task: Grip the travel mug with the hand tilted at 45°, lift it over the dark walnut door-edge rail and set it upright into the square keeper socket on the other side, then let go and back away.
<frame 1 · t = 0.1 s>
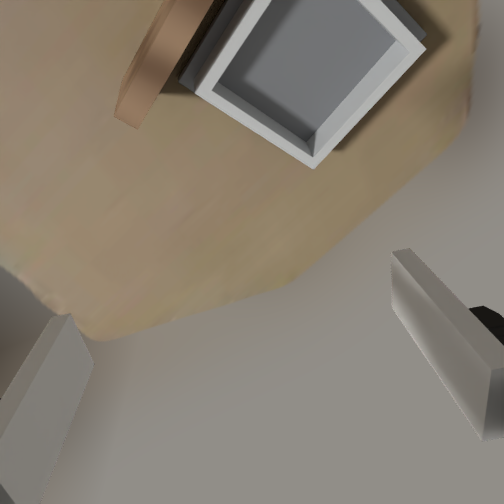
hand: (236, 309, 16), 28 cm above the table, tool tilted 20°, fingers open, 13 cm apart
keeper socket: (300, 54, 37), on the table
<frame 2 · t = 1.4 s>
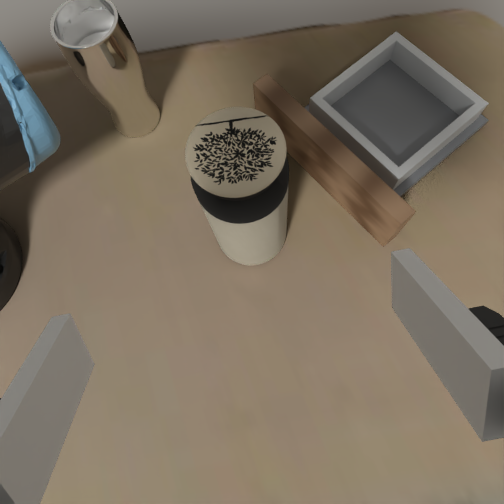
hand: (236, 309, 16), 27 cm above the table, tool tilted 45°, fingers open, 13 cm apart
travel mug: (251, 233, 47), on the table
keeper socket: (388, 121, 50), on the table
door edge rail: (322, 175, 48), on the table
beer glass: (137, 118, 52), on the table
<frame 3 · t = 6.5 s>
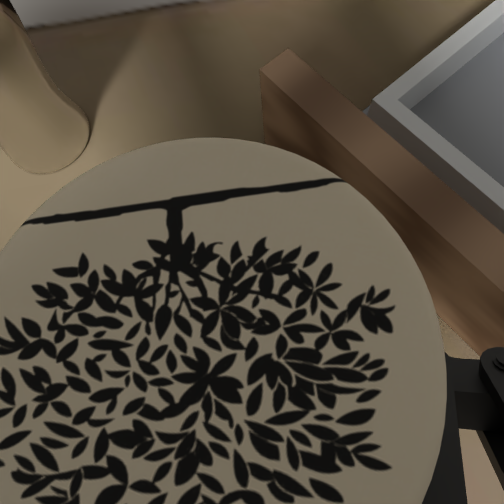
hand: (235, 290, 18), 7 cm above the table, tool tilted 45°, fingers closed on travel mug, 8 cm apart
travel mug: (258, 371, 23), on the table, touching gripper
door edge rail: (394, 249, 25), on the table
beer glass: (50, 138, 29), on the table
when the fingers open (9 cm above the table, at t = 13.3 s): travel mug drops 1 cm, resting on keeper socket.
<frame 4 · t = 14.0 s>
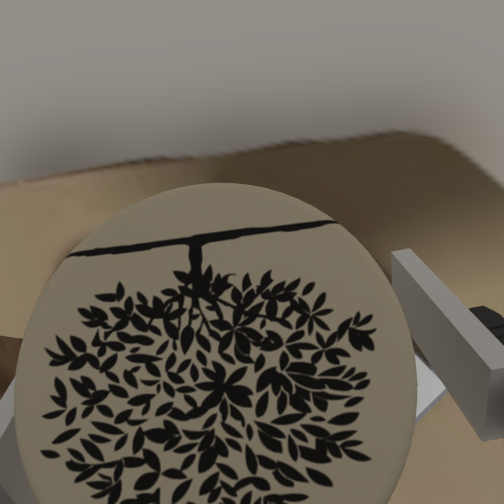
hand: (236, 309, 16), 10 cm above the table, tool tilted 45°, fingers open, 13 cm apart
travel mug: (258, 374, 25), point 1 cm above the table, touching keeper socket
keeper socket: (259, 371, 25), on the table
door edge rail: (119, 496, 24), on the table
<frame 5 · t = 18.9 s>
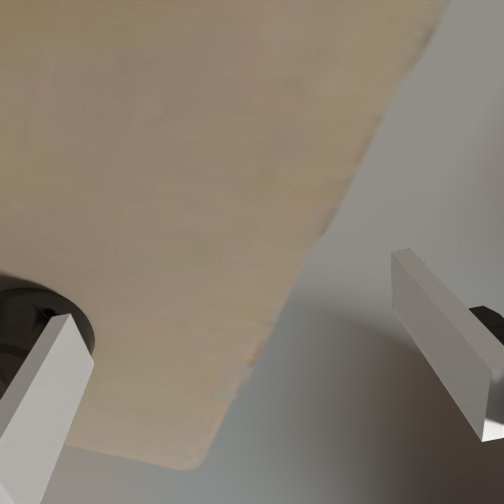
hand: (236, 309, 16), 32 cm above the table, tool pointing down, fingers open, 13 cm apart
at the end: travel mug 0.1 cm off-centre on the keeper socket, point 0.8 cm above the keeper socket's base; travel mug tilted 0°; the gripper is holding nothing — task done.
